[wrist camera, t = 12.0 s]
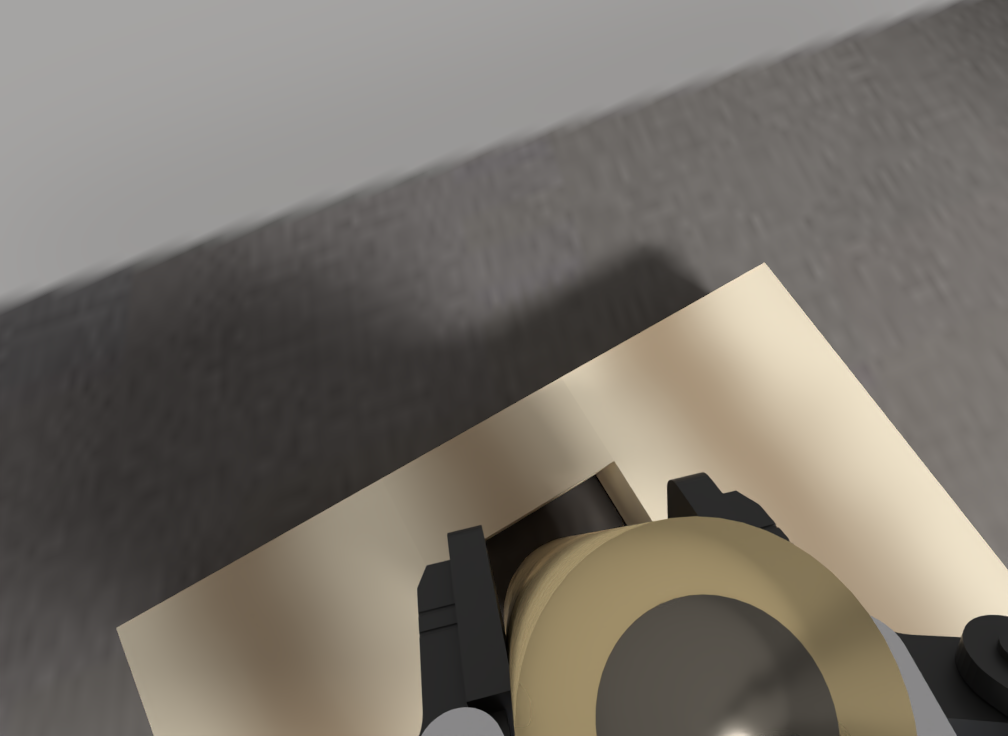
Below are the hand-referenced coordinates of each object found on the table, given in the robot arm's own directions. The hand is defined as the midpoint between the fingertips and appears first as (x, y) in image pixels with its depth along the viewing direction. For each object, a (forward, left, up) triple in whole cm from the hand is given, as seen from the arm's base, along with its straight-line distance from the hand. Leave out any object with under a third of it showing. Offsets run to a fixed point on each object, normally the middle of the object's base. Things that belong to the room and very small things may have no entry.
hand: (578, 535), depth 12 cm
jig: (+1, +2, -6) cm, 6 cm away
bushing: (+1, +2, -4) cm, 5 cm away
